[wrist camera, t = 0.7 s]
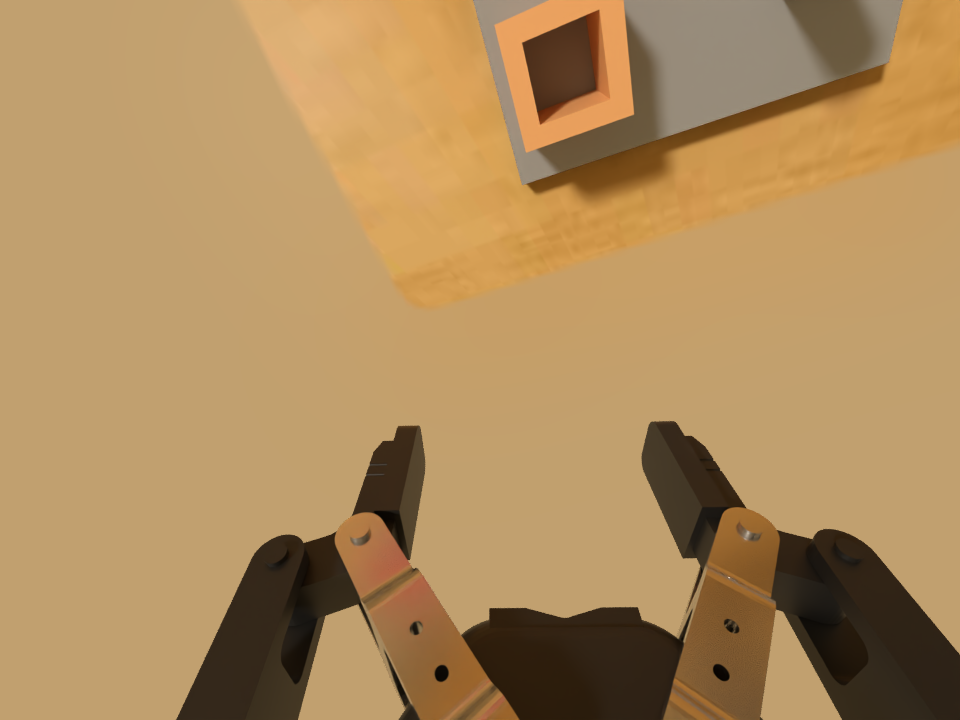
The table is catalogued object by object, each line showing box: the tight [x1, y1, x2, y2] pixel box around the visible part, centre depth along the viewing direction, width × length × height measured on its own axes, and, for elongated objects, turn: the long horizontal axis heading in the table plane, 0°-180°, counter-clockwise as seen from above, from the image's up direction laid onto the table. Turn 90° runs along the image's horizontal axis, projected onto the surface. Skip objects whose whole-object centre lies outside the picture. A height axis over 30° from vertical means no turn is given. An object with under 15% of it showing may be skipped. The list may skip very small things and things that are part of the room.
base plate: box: [473, 0, 903, 185], centre depth 23 cm, size 12×22×2 cm, turn 109°
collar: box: [494, 0, 634, 153], centre depth 22 cm, size 6×6×5 cm
